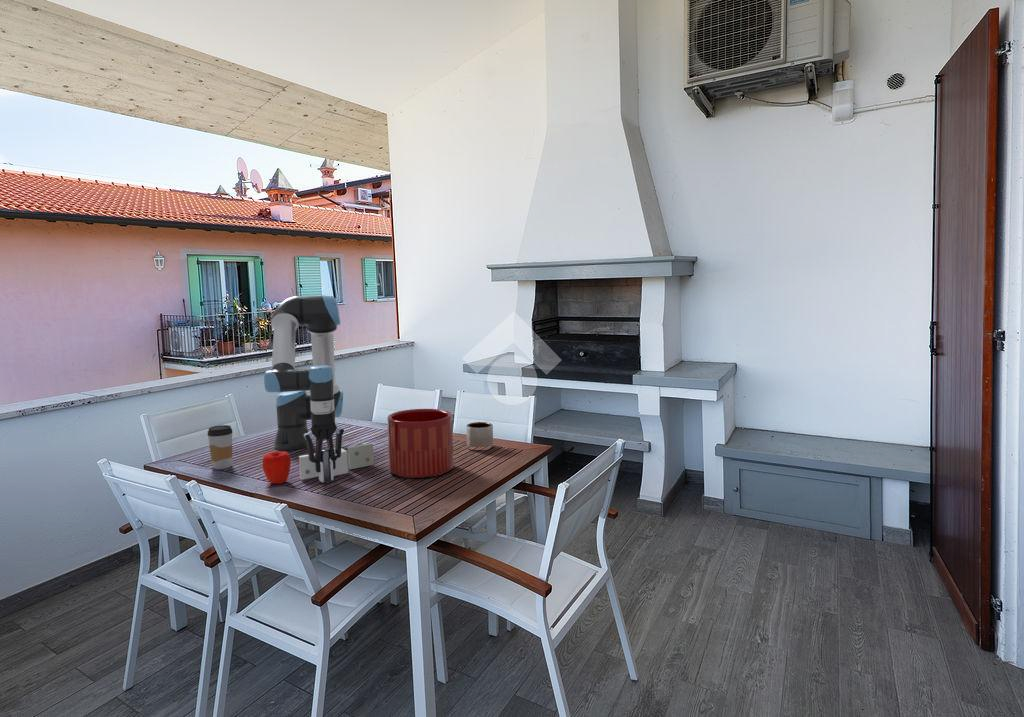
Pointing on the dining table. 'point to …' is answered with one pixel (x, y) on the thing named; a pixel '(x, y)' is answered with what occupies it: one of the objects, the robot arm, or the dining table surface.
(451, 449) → the planter
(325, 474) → the pin
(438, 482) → the dining table surface
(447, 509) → the dining table surface
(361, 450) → the loose leaf
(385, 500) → the dining table surface
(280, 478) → the apple
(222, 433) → the coffee cup
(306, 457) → the fixed hinge
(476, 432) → the planter
